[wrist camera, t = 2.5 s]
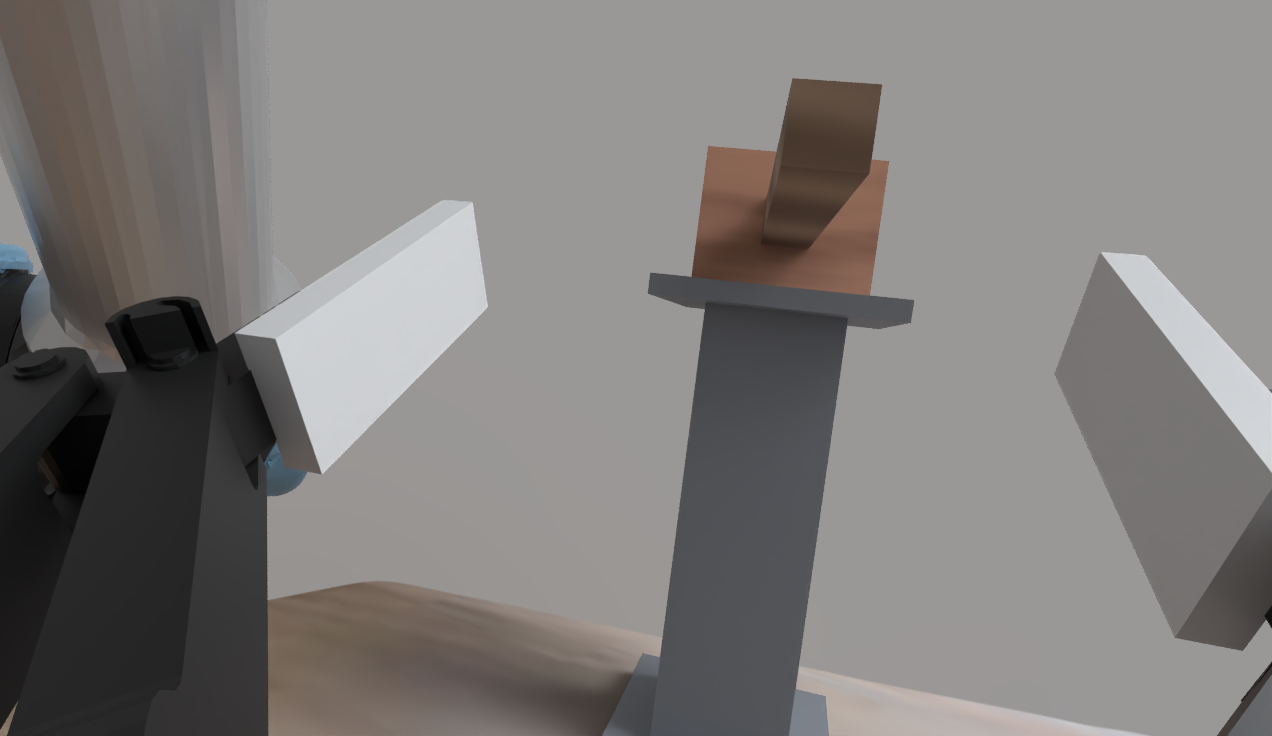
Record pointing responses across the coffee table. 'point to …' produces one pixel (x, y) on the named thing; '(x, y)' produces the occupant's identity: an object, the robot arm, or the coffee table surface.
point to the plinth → (748, 511)
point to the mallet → (799, 197)
